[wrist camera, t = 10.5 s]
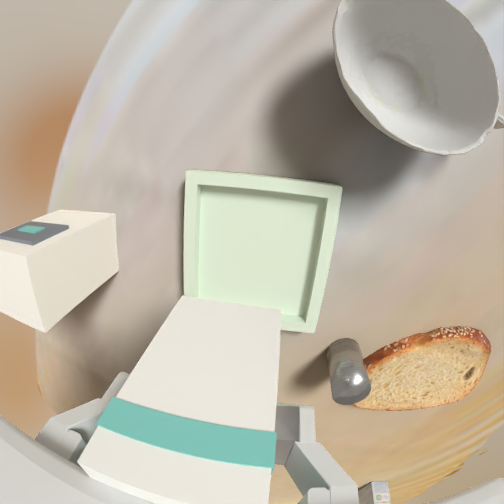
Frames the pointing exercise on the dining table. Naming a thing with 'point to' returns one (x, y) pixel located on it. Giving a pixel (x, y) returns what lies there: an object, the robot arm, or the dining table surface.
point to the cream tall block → (55, 264)
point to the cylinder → (347, 372)
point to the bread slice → (426, 369)
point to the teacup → (418, 72)
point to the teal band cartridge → (195, 410)
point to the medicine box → (374, 493)
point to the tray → (260, 241)
